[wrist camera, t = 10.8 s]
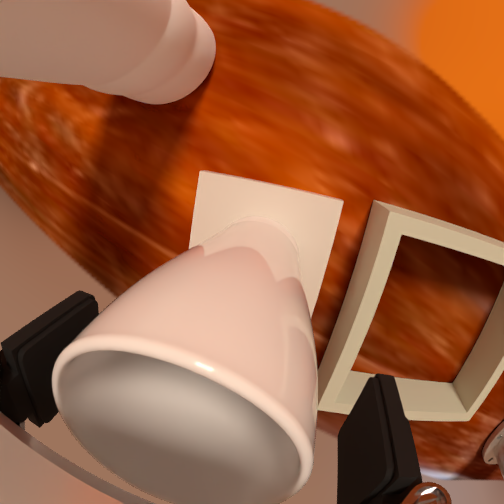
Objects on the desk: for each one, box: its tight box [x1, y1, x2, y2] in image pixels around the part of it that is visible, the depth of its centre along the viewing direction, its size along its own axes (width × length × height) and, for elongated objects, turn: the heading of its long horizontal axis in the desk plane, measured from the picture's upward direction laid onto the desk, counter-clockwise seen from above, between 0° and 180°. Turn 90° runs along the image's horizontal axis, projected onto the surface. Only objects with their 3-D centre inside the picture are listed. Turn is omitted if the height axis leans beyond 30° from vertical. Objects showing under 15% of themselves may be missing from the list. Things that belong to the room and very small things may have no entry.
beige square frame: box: [317, 200, 504, 421], centre depth 18 cm, size 14×14×4 cm
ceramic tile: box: [189, 170, 344, 317], centre depth 20 cm, size 9×9×1 cm
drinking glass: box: [52, 216, 318, 504], centre depth 13 cm, size 7×7×15 cm
